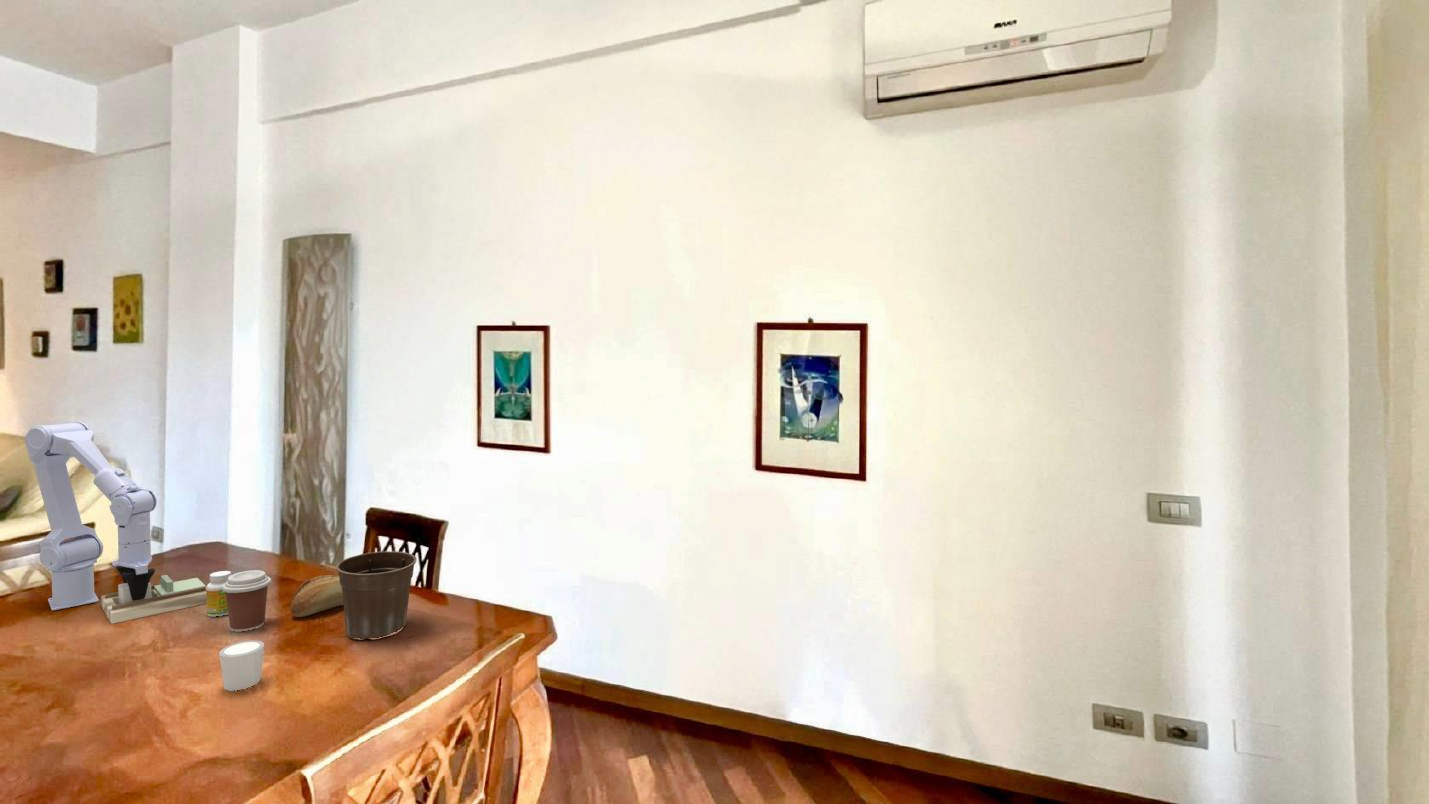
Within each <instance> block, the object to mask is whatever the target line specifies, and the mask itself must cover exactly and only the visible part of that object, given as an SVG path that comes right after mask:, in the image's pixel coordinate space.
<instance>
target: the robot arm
mask: <svg viewBox="0 0 1429 804" xmlns="http://www.w3.org/2000/svg"><path fill="white" fill-rule="evenodd" d="M23 440H24V443H25V447H26V451H27V453H28V454H27V455H28V458H29V461H30V462H32V464H33V469H34V473H35V476H36V479H37V483H38V484H37V485H38V487H39V490H40V494H41V498H42V501H43V506H44V509H45V513H46V516H47V520H48V523H49V527H50V532H49V533H48V534H47V535H46V536H45V537H43V538H42V540H41V541H39V547H40V551H39V552H40V553H39V561H40V564H41V565H42V566H43V567H44V568H45V569H46V570H47V571H48V572H51V591H52V592H51V594H52V597H49V598H48V599H47V601H48V604H49V607H50V609H51V611H57V610H62V609H68V608H71V607H73V608H74V607H79V606H82V605H88V604H93V603H97V602H99V601H100V600H99V598H98V596H97V593H96V592H95V575H94V574H95V573H94V572H95V571H94V569H95V567H94V566H95V565H94V564H96V563H98V559H99V558H100V557H101V556H102V555H103V552H104V544H103V542H102V541H101V539H100V538H99V536H98V534H97V531H96V529H94V528H92V527H89V526H87V525H85V524H83V523H82V518H81V514H80V511H79V508H78V503H77V500H76V496H75V493H74V489H73V485H72V481H71V478H70V475H69V472H68V471H69V470H68V467H67V463H68V461H69V460H70V459H71V458H75V459H76V460H77V461H78V462H79V463H81V466H83V467H84V468H86V469H87V470H88V471H89V472H90V473H92V475H93V476H94V479H93V481H92V483H93V484H94V486H95V487H96V488H97V489H98V490H99V491H100V492H101V493H102V494H103V495H104V496H105V497H106V498H107V499H108V501H109V502H111V503H110V505H109V510H110V513H111V514H112V516H113V519H114V523H115V525H116V526H117V546H118V549H117V551H118V560H116V561H112V562H111V566H112V567H115V569H116V570H117V571H118V573H119V575H120V578H122V581H123V584H124V583H128V586H129V590H130V594H131V598H132V600H133V601H135V600H140V599H144V598H145V596H146V592H147V588H148V584H149V582H150V581H151V579H152V577H153V575H154V574H155V571H156V570H155V568H150V569H149V568H148V567H149V564H150V563H151V562H152V561H153V556H152V554H151V553H152V551H151V550H152V544H151V543H152V542H151V541H152V540H151V512H152V511H154V510H155V509H156V507H157V503H158V502H157V501H158V500H157V497H156V494H154V492H153V491H152V490H151V489H149V488H144V487H143V486H138V485H137V484H136V483H135V482H134V480H133V479H132V478H131V477H130V476H129V475H128V474H127V473H126V472H125V471H124V470H123V469H122V468H119V467H113V466H112V465H111V464H110V463H109V461H108V460H107V459H106V457H105V456H104V455H103V453H102V452H101V450H100V449H99V448H98V446H97V445H96V444H95V443H94V440H95V434H94V432H93V431H92V430H91V429H90V427H89V425H87V424H86V423H84V422H82V421H79V422H78V421H77V422H73V423H72V422H71V423H60V424H58V423H57V424H48V425H46V424H45V425H44V424H43V425H40V424H38V425H33V426H31V427H30V428H29V429H28V430H27V433H26V434H25V436H24V438H23ZM69 539H70V540H69ZM64 540H67V541H64Z"/></svg>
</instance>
